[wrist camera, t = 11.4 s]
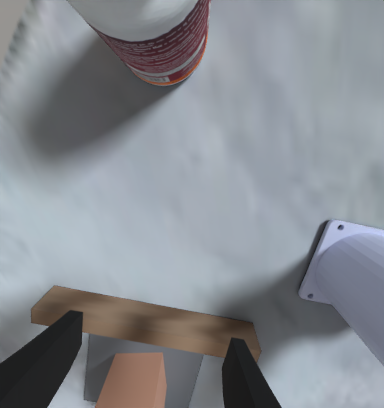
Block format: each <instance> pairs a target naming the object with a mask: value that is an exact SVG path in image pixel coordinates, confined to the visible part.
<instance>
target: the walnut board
mask: <svg viewBox="0 0 384 408" xmlns="http://www.w3.org/2000/svg"><path fill="white" fill-rule="evenodd" d="M69 310H74V311H80V312H83V327H82V332H85V333H90V334H96V335H101V336H107V337H112V338H118V339H123V340H129V341H134V342H140V343H145V344H151V345H156V346H162V347H167V348H173V349H178V350H184V351H189V352H195V353H200V354H206V355H212V356H217V357H223V358H225V356H226V353H227V350H228V347H229V343H230V340H231V337H234V338H239V339H244V340H245V342H246V344H247V346H248V348H249V350H250V352H251V354H252V356H253V358H254V359H255V361H256V363H257V361H258V358H259V356H260V353H261V348H260V345H259V342H258V339H257V335H256V332H255V329H254V326H253V323H250V322H245V321H240V320H234V319H229V318H224V317H218V316H213V315H208V314H203V313H197V312H192V311H187V310H181V309H176V308H171V307H165V306H160V305H155V304H149V303H144V302H139V301H134V300H128V299H123V298H118V297H112V296H107V295H102V294H96V293H91V292H86V291H80V290H75V289H70V288H64V287H59V286H54V287H53V288H52V289H51V290H50V291H49V292H48V293H47V294H46V295H45V296H44V297H43V298H42V299H41V300H40V301H39V302H38V303H37V304H36V305H35V306H34V307H33V308H32V309H31V323H35V324H41V325H46V326H51V325H52V324H53V323H54V322H56V321H57V320H58V319H59V318H60V317H62V316H63V315H64V314H65V313H67V312H68V311H69Z"/></svg>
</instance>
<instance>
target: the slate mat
mask: <svg viewBox="0 0 384 408" xmlns="http://www.w3.org/2000/svg"><path fill="white" fill-rule="evenodd" d="M160 352H163V360H164V368H165V376H166V384H167V390H166V398H165V406H164V408H188V406H189V402H190V399H191V396H192V392H193V389H194V386H195V382H196V379H197V376H198V372H199V369H200V366H201V362H202V359H203V355H204V354H200V353H195V352H189V351H184V350H178V349H173V348H167V347H162V346H156V345H151V344H145V343H140V342H134V341H129V340H123V339H118V338H112V337H107V336H101V335H96V334H90V338H89V349H88V360H87V371H86V382H85V393H84V400H87V401H93V402H97V401H98V398H99V396H100V393H101V390H102V388H103V385H104V383H105V380H106V378H107V375H108V372H109V370H110V367H111V365H112V362H113V359H114V357H115V354H116V353H160Z"/></svg>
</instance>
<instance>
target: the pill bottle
mask: <svg viewBox="0 0 384 408" xmlns="http://www.w3.org/2000/svg"><path fill="white" fill-rule="evenodd" d="M67 1H68V3H69V4H70V5H71V6H72V7H73V8H74V9H75V10H76V11H77V12H78V13H79V15H80V16H81V17H82V18H83V19H84V20H85V21H86V22H87V23H88V24H89V25H90V26H91V27H92V28H93V29H94V30H95V31H96V32H97V34H98V35H99V36H100V37H101V38H102V39H103V40H104V41H105V42H106V43H107V44H108V45H109V47H110V48H111V49H112V50H113V51H114V52H115V53H116V54H117V55H118V56H119V58H120V59H121V60H122V61H123V62H124V63H125V64H126V66H128V68H129V69H130V70H131V71H132V72H133V73H134V74H135V75H136V76H138V77H139V78H140V79H142V80H144V81H146V82H148V83H150V84H153V85H158V86H168V85H173V84H176V83H179V82H181V81H183V80H184V79H186V78H187V77H189V76H190V75H191V74H192V73H193V72H194V71H195V69H196V68H197V67H198V65H199V63H200V62H201V60H202V57H203V55H204V52H205V48H206V43H207V37H208V26H209V16H210V4H211V0H67Z"/></svg>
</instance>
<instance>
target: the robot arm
mask: <svg viewBox="0 0 384 408" xmlns="http://www.w3.org/2000/svg"><path fill="white" fill-rule="evenodd" d="M339 225H341V227H340V228H338V226H339ZM298 294H299V296H300V297H301V298H302V299H305V300H310V301H316V302H321V303H326V304H331V305H333V306H334V308H335V309H336V310H337V311H338V312H339V314H340V315H341V316H342V317H343V318H344V320H345V321H346V322H347V323H348V324H349V325H350V327H351V328H352V329H353V330H354V331H355V333H356V334H357V335H358V336H359V337H360V339H361V340H362V341H363V342H364V343H365V345H366V346H367V347H368V348H369V349H370V351H371V352H372V353H373V354H374V355H375V357H376V358H377V359H378V360H379V361H380V363H381V364H382V365H383V366H384V230H383V229H378V228H373V227H368V226H364V225H359V224H354V223H349V222H344V221H340V220H335V219H332V220H330V221H329V222H328V223H327V225H326V227H325V230H324V232H323V234H322V237H321V239H320V241H319V244H318V246H317V249H316V251H315V253H314V256H313V258H312V261H311V263H310V265H309V268H308V270H307V272H306V275H305V277H304V280H303V282H302V284H301V287H300V289H299V292H298ZM309 294H310V295H309ZM82 327H83V312H80V311H74V310H69V311H68V312H67V313H65V314H64V315H63V316H62V317H60V318H59V319H58V320H57V321H56V322H54V323H53V324H52V325H51V326H49V327H48V328H47V329H46V330H44V331H43V332H42V333H41V334H39V335H38V336H37V337H35V338H34V339H33V340H32V341H30V342H29V343H28V344H26V345H25V346H24V347H22V348H21V349H20V350H18V351H17V352H16V353H14V354H13V355H12V356H10V357H9V358H7V359H6V360H5V361H3V362H2V363H0V408H47V407H48V405H49V404H50V402H51V400H52V399H53V397H54V395H55V394H56V392H57V390H58V389H59V387H60V385H61V384H62V382H63V380H64V379H65V377H66V375H67V374H68V372H69V370H70V368H71V366H72V364H73V362H74V360H75V358H76V356H77V354H78V351H79V349H80V347H81V345H82ZM222 383H223V398H224V406H225V408H282V407H281V406H280V404H279V402H278V401H277V399H276V397H275V396H274V394H273V392H272V390H271V389H270V387H269V385H268V383H267V382H266V380H265V378H264V376H263V374H262V373H261V371H260V369H259V367H258V365H257V363H256V361H255V359H254V358H253V356H252V354H251V352H250V350H249V348H248V346H247V344H246V342H245V340H244V339H239V338H234V337H231V340H230V343H229V347H228V350H227V353H226V356H225V360H224V363H223V366H222Z"/></svg>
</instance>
